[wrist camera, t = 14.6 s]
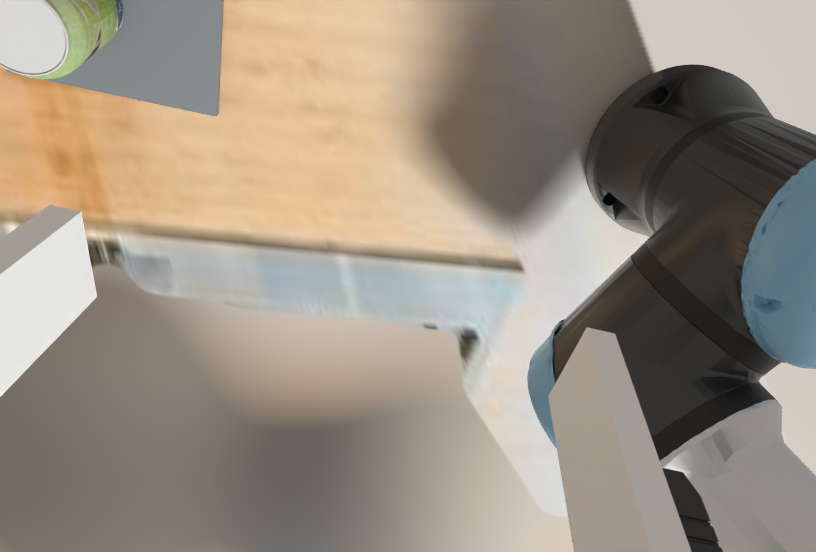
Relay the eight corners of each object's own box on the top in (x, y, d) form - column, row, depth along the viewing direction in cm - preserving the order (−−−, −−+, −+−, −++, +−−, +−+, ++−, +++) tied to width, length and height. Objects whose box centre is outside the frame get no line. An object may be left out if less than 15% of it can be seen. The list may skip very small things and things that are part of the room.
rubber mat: (226, -64, 37) (223, -65, 37) (218, 113, 44) (216, 116, 43) (-18, -130, 35) (-26, -132, 34) (12, 69, 41) (6, 71, 41)
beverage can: (38, -61, 36) (-93, -66, 26) (149, -26, 38) (65, -17, 27) (43, 33, 39) (-72, 61, 29) (145, 62, 41) (69, 99, 31)
